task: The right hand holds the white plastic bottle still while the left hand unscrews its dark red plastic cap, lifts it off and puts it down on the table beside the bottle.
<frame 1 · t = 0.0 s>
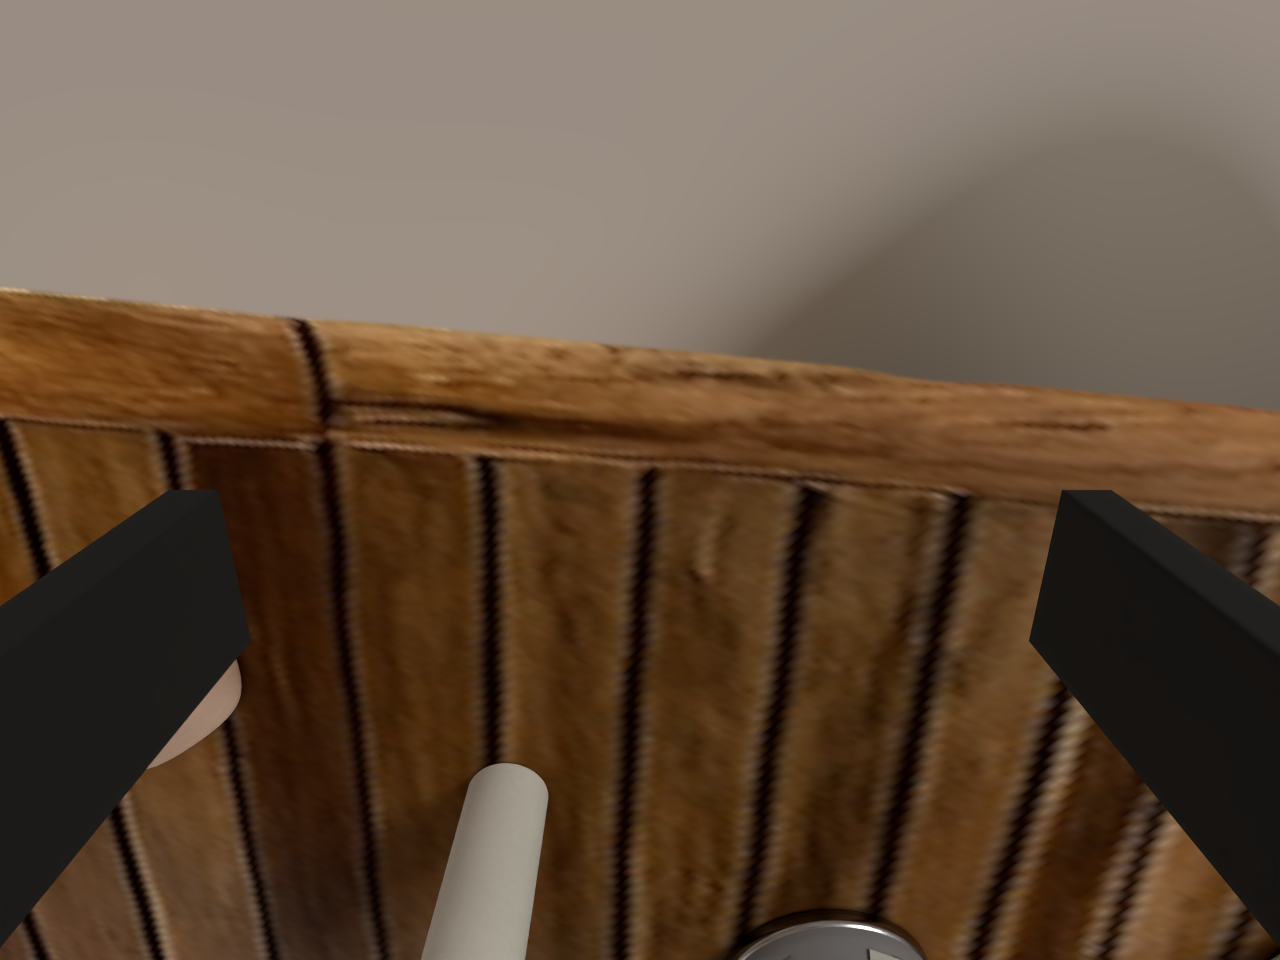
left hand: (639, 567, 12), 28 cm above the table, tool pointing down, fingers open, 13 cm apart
anatomical model: (144, 672, 47), on the table
bottle: (508, 794, 50), on the table
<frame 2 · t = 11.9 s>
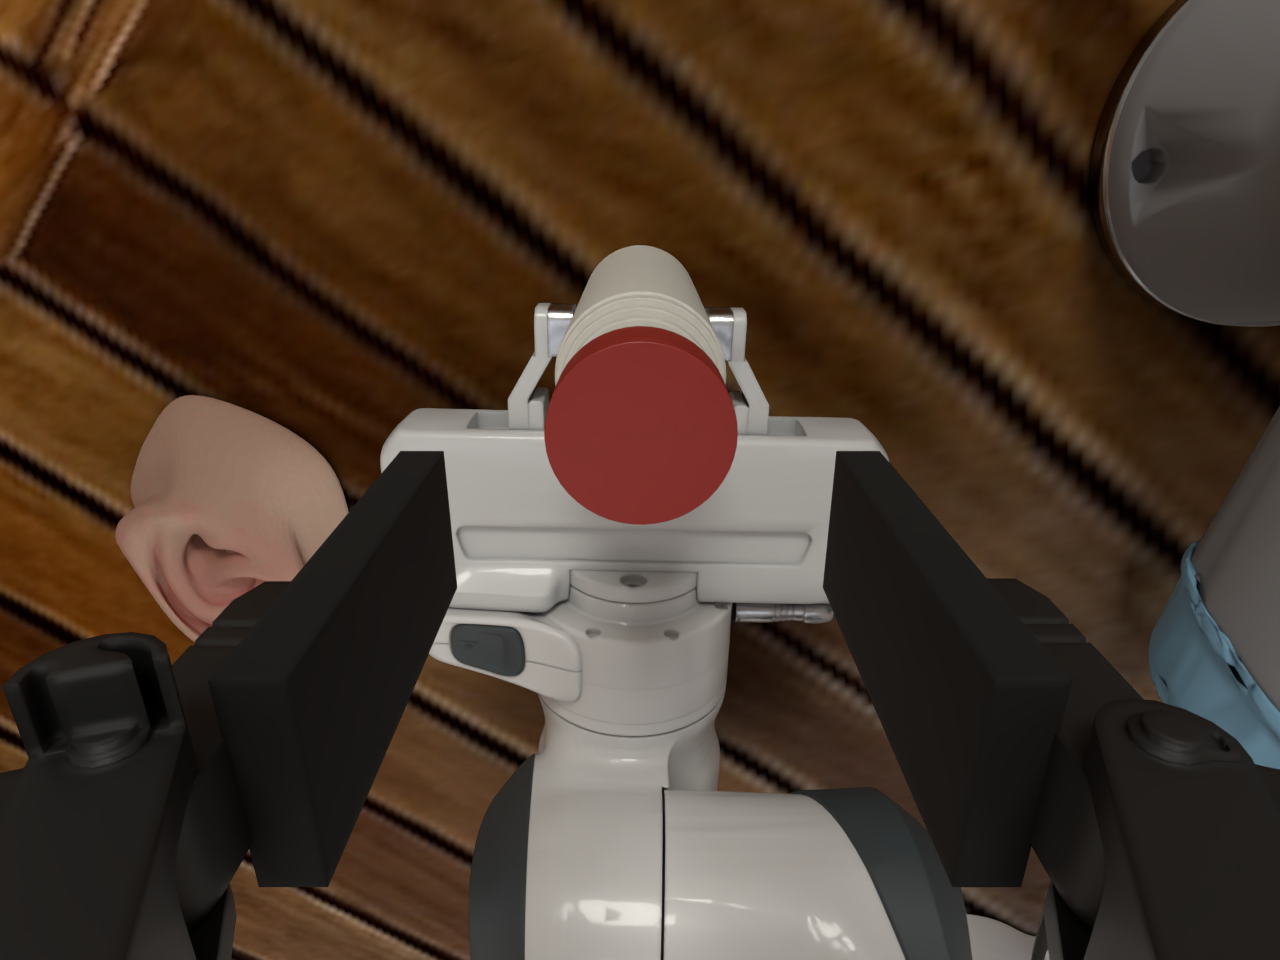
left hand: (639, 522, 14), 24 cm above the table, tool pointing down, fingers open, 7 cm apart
anatomical model: (250, 522, 41), on the table
bottle: (640, 302, 36), on the table, touching right hand
cap: (640, 433, 19), point 19 cm above the table, screwed on, not yet turned
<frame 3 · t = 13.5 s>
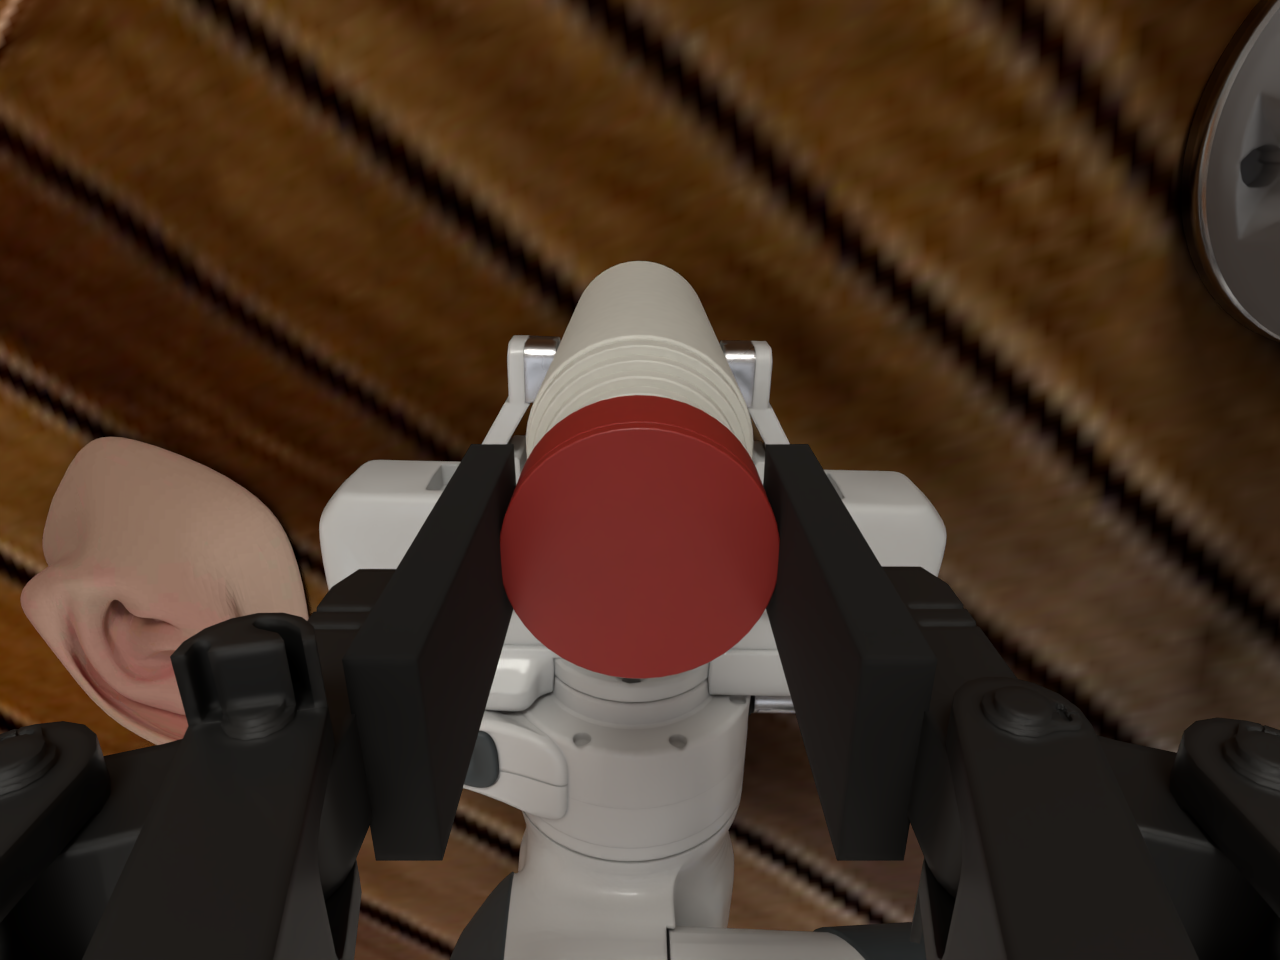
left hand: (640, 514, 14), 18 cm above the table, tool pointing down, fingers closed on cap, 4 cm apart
anatomical model: (185, 581, 35), on the table
bottle: (639, 328, 31), on the table, touching right hand
cap: (639, 553, 13), point 19 cm above the table, screwed on, not yet turned, touching left hand
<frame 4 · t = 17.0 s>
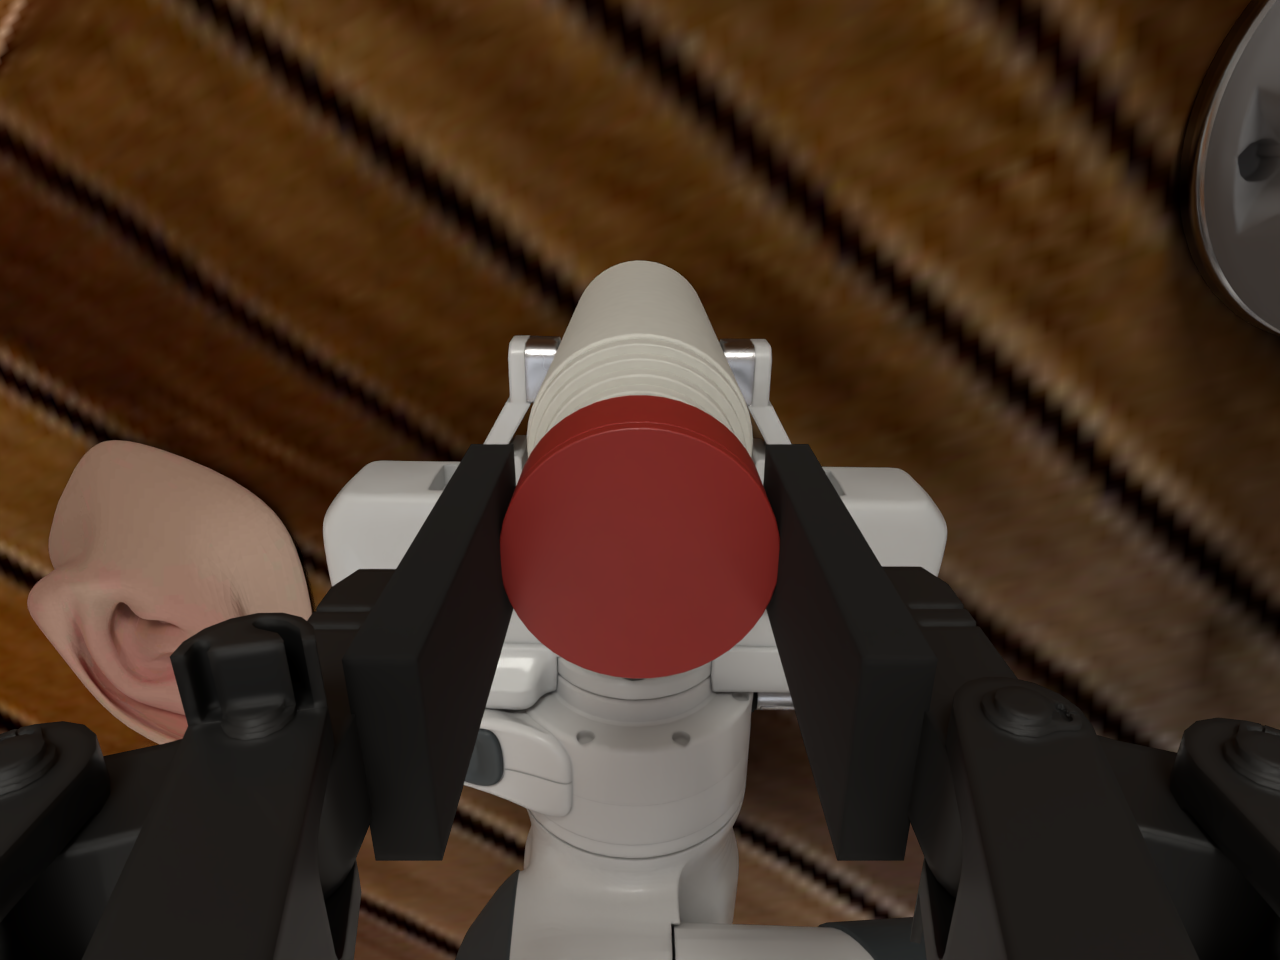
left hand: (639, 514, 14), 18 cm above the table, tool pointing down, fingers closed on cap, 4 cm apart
anatomical model: (190, 583, 35), on the table
bottle: (639, 327, 31), on the table, touching right hand
cap: (639, 553, 13), point 19 cm above the table, turned 115° so far, risen 0.1 cm, still on its thread, touching left hand
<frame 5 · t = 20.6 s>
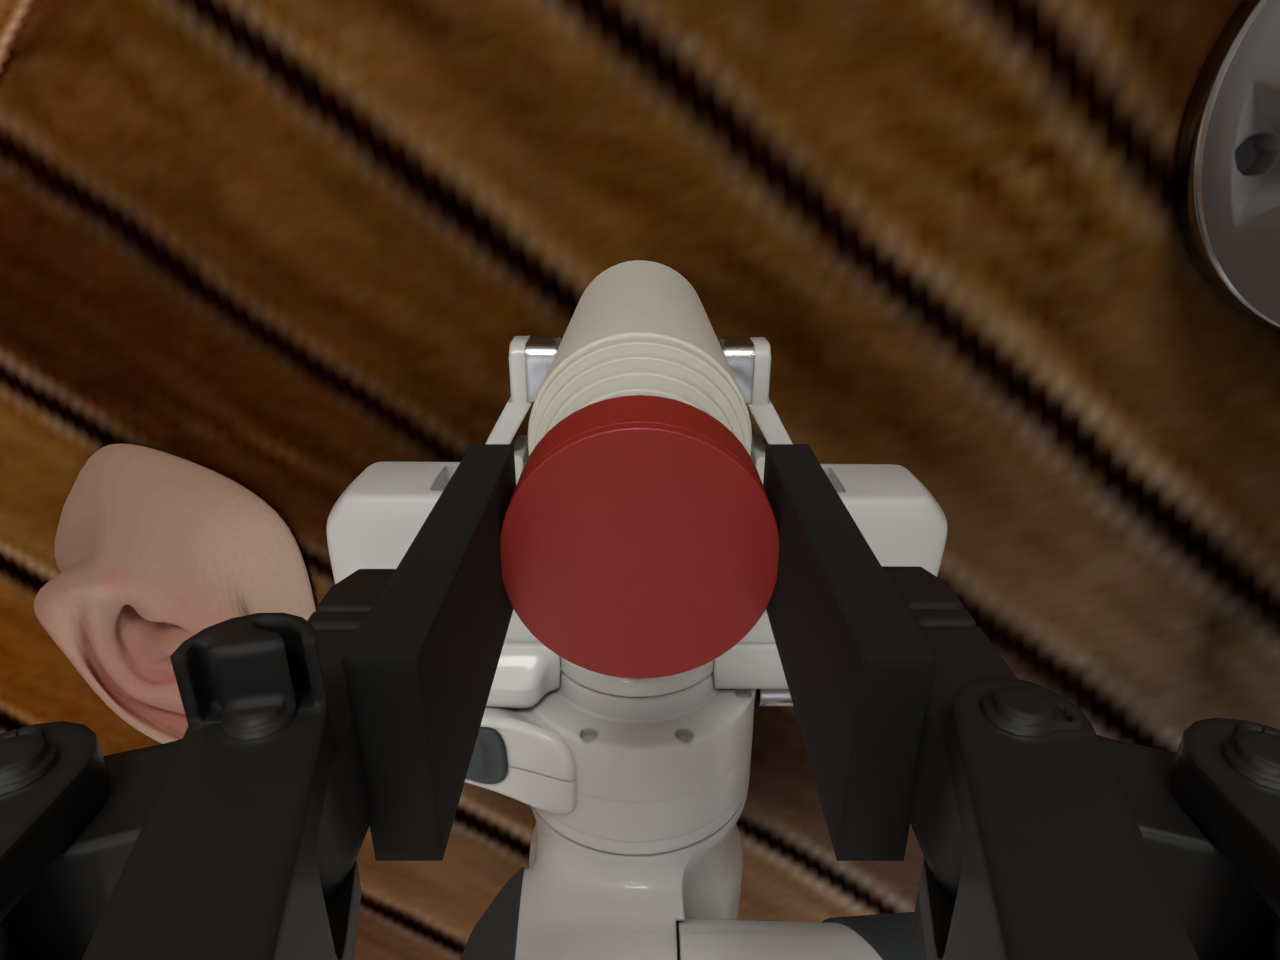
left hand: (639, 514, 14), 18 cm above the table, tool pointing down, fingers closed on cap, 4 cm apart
anatomical model: (195, 585, 35), on the table
bottle: (639, 327, 31), on the table, touching right hand
cap: (639, 553, 13), point 19 cm above the table, turned 229° so far, risen 0.3 cm, still on its thread, touching left hand
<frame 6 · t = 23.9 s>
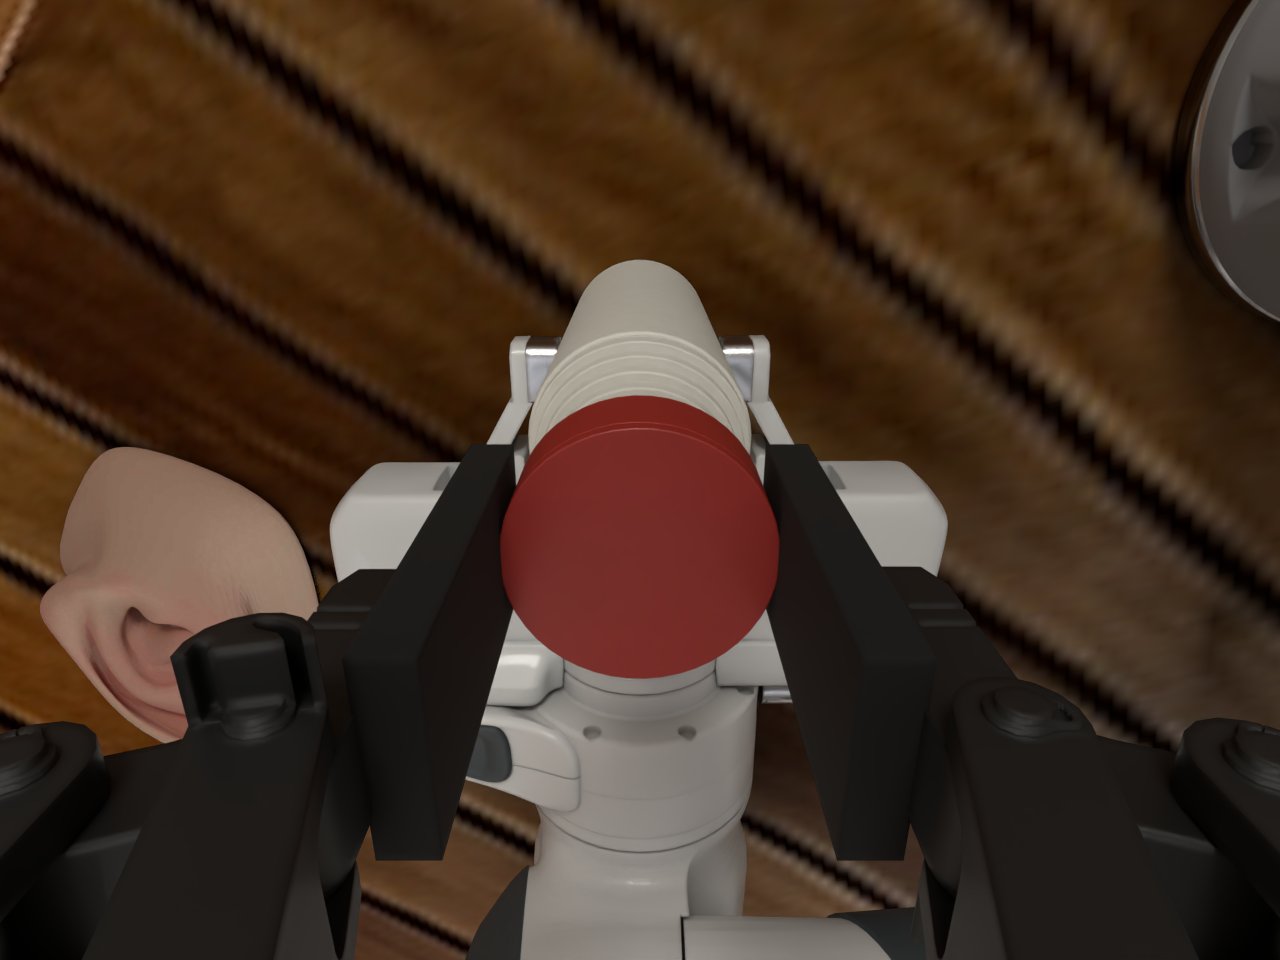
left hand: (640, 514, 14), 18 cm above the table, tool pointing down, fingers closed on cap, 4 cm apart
anatomical model: (199, 587, 35), on the table
bottle: (639, 326, 31), on the table, touching right hand
cap: (639, 553, 13), point 20 cm above the table, turned 344° so far, risen 0.4 cm, still on its thread, touching left hand
when the left hand's fingers open (2 cm above the table, at t = 31.3 s): cap drops 2 cm, point 2 cm above the table.
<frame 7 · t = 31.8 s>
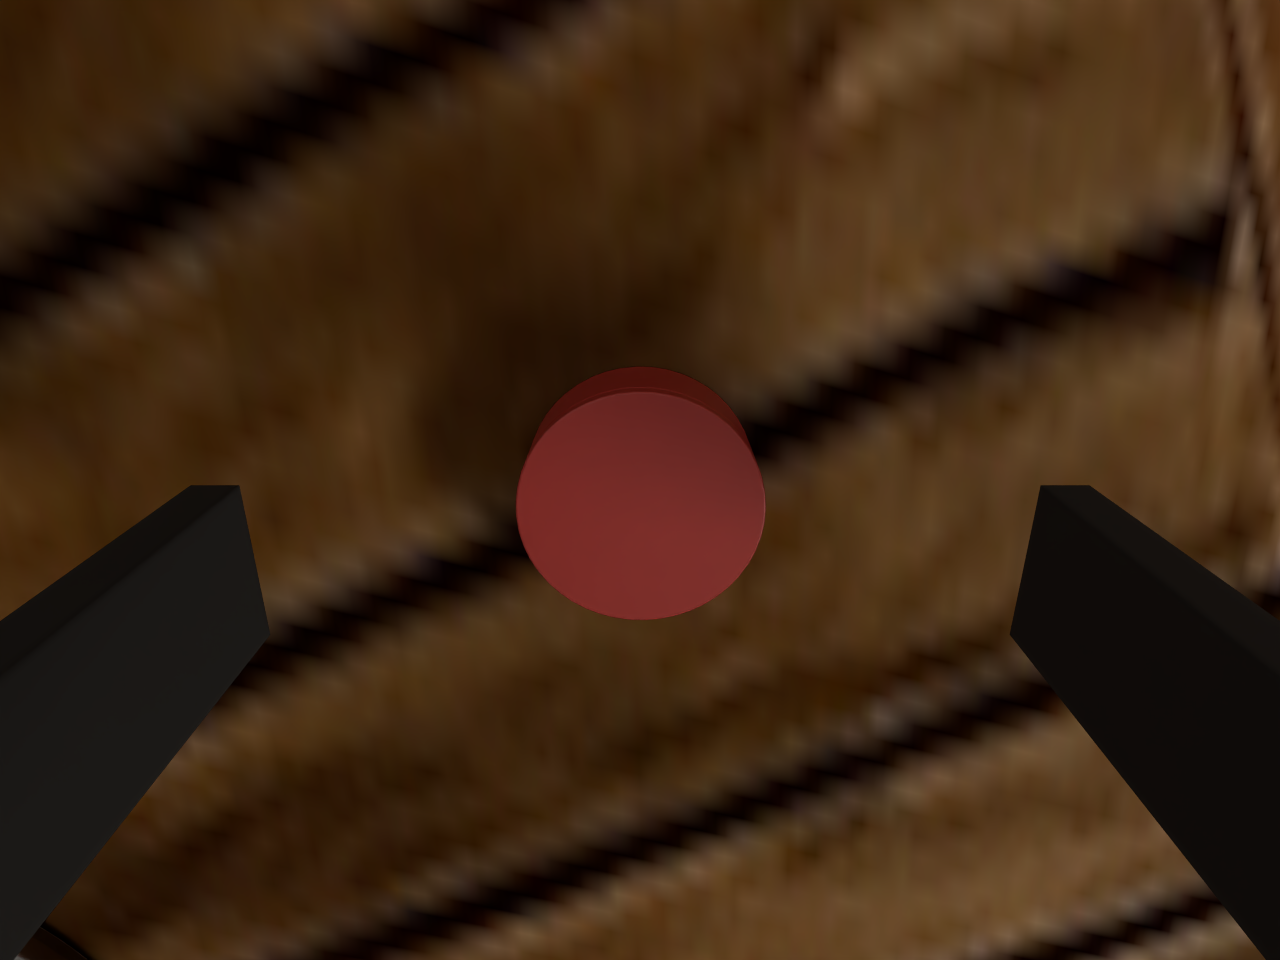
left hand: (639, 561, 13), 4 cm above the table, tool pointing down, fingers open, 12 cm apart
cap: (640, 506, 14), point 2 cm above the table, off its thread
when the right hand's fingers open (7 cm above the table, at t = 32.6 s): bottle stays where it is, on the table.
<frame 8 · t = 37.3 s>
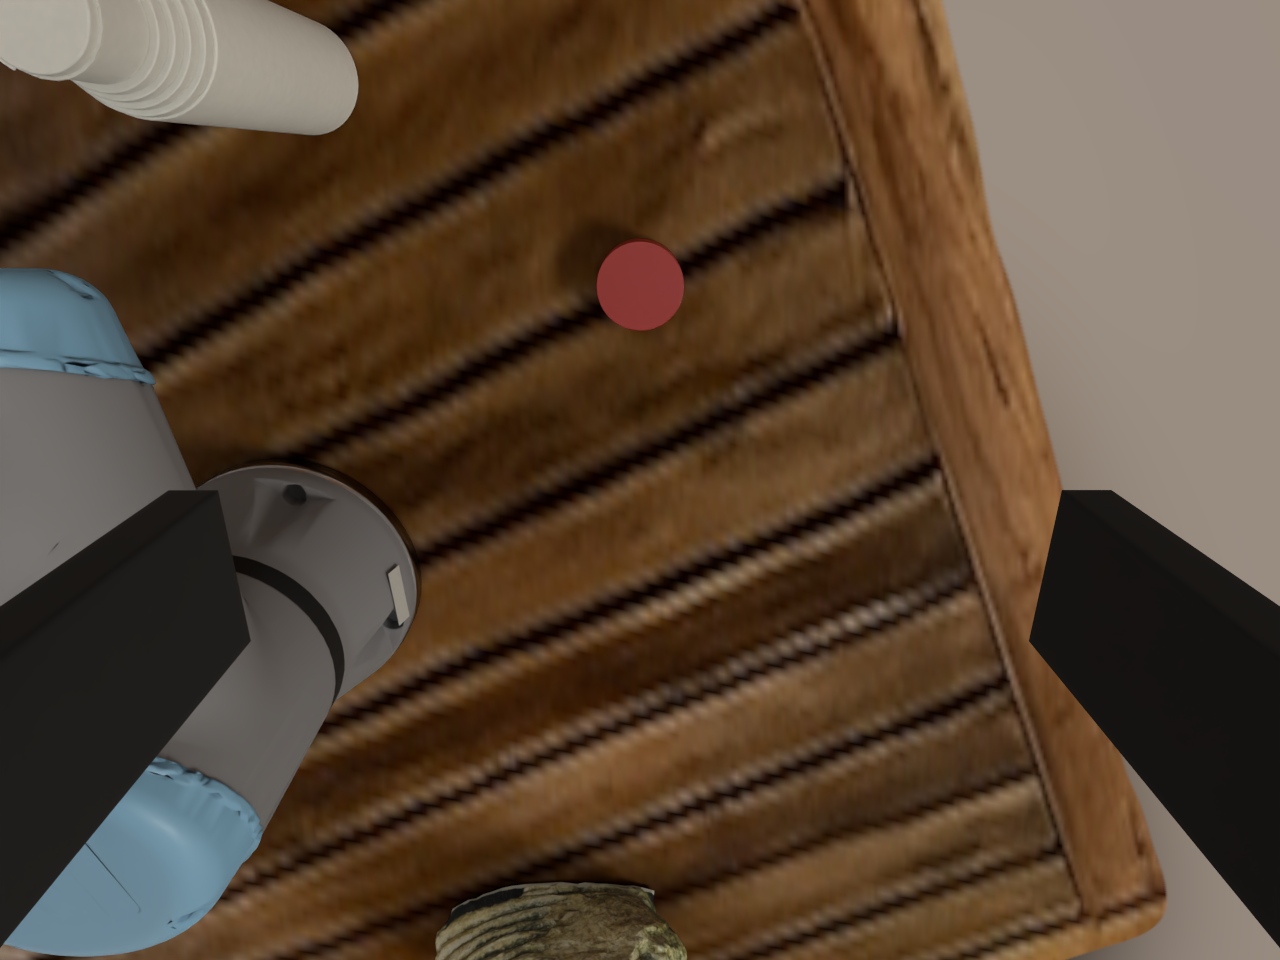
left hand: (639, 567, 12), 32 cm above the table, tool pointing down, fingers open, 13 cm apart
bottle: (306, 78, 39), on the table
cap: (640, 286, 41), point 2 cm above the table, off its thread
fossil: (564, 912, 60), on the table
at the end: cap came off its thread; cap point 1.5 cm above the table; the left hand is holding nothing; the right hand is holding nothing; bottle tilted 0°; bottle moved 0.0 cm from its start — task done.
